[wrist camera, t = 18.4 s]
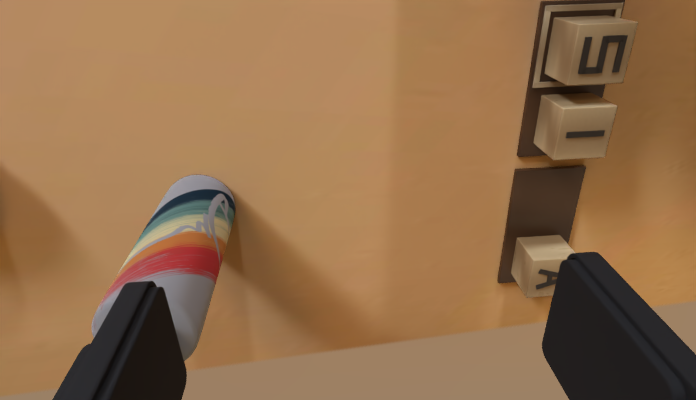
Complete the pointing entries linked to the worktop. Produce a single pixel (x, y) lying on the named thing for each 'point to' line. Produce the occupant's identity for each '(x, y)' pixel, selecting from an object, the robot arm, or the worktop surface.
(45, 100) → the worktop surface
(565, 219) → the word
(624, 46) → the tile
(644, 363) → the robot arm
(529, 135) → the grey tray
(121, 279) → the lotion bottle
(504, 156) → the worktop surface
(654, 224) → the worktop surface
